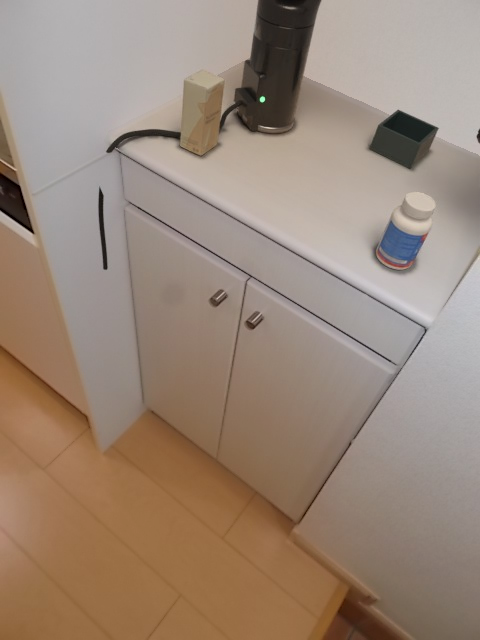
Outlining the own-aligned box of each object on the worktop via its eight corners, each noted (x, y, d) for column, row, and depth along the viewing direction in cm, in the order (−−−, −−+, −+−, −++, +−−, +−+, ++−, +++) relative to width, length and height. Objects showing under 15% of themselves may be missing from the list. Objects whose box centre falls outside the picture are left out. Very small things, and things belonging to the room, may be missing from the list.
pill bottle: (413, 274, 72) (442, 219, 65) (374, 266, 72) (399, 209, 65) (412, 249, 76) (440, 193, 68) (375, 240, 76) (399, 184, 68)
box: (200, 157, 84) (206, 89, 75) (178, 146, 85) (181, 79, 76) (218, 143, 87) (226, 77, 78) (197, 133, 88) (202, 67, 80)
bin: (410, 168, 89) (420, 144, 86) (369, 149, 92) (378, 124, 88) (428, 151, 94) (439, 127, 91) (389, 132, 96) (398, 109, 93)
